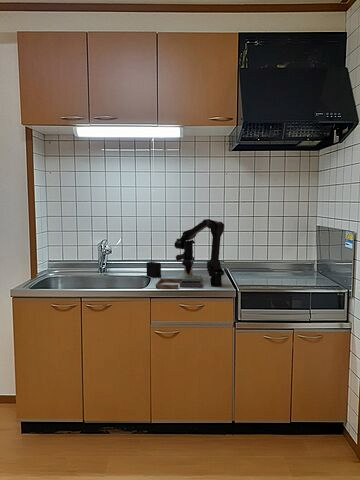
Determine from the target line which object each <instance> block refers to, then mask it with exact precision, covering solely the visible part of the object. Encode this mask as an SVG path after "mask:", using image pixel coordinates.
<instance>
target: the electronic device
mask: <svg viewBox="0 0 360 480" xmlns="http://www.w3.org/2000/svg"><path fill="white" fill-rule="evenodd" d="M145 264H146V265H145V266H146V277H148V278H154V279H158V278H161V277H162V263H161V262H157V261H147V262H146V263H145Z"/></svg>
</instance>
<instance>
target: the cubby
mask: <svg viewBox="0 0 360 480" xmlns="http://www.w3.org/2000/svg"><path fill="white" fill-rule="evenodd" d="M181 280H182V279H176V278H164V277H163V278H161V277H160V279H159V280H158V281H157V283H155V289H156V288H163V289H162V290H179V284H180V282H181ZM163 283H164V284H163ZM166 283H167V284H166ZM168 283H169V284H168ZM171 283H174V284H171ZM177 283H178V284H177Z"/></svg>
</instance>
